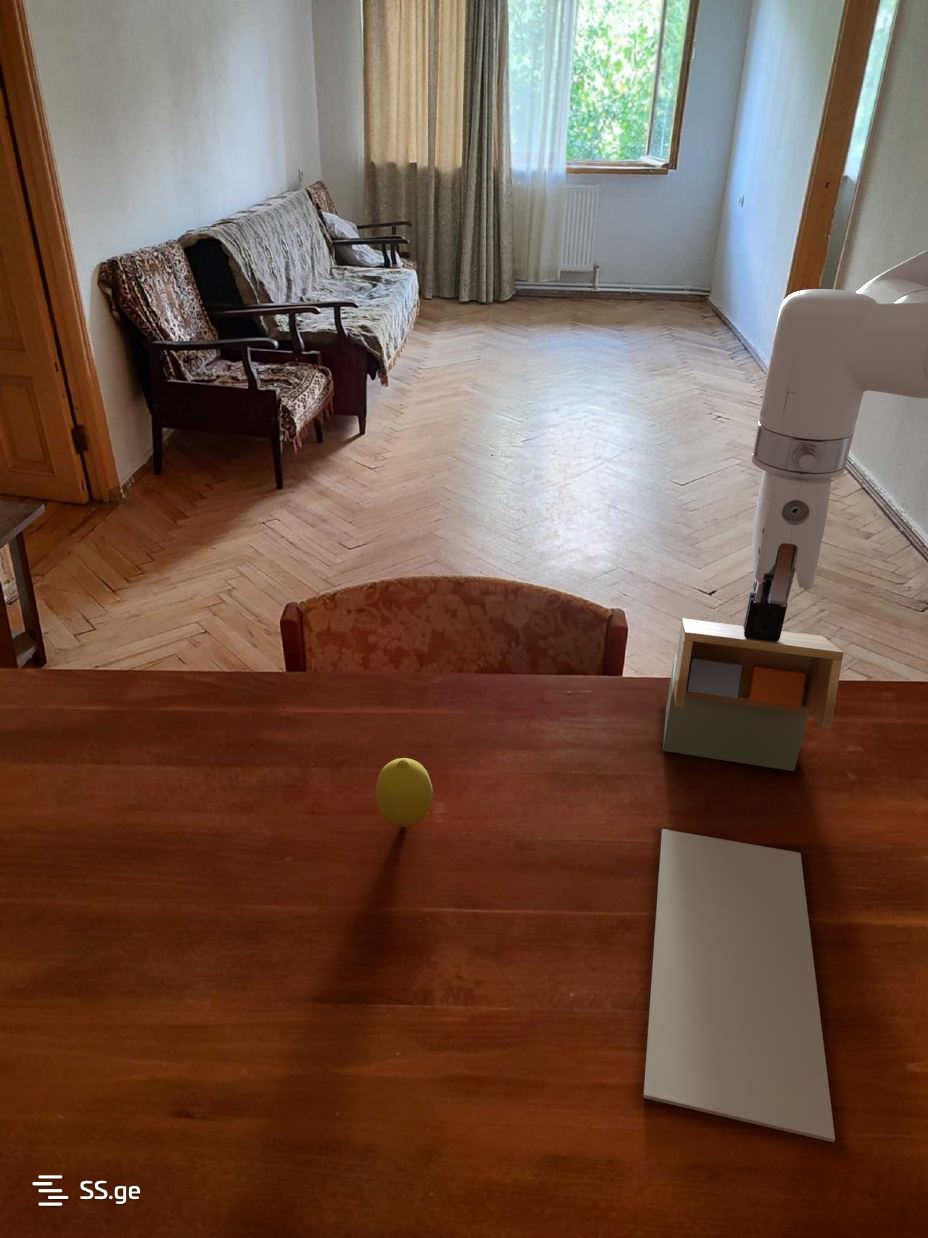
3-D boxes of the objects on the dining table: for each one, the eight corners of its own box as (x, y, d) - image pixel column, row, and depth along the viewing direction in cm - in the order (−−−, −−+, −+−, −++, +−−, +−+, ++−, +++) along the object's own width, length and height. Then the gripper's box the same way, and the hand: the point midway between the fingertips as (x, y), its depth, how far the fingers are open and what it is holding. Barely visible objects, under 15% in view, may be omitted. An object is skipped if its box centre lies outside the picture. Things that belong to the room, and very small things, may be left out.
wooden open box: (682, 617, 93) (685, 631, 82) (822, 635, 90) (843, 652, 80) (672, 691, 94) (673, 714, 84) (809, 711, 91) (829, 737, 81)
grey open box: (665, 710, 105) (674, 653, 101) (788, 728, 102) (802, 671, 98) (662, 751, 98) (671, 692, 94) (794, 771, 95) (809, 712, 91)
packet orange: (752, 663, 91) (754, 666, 89) (803, 670, 90) (806, 673, 88) (747, 696, 92) (749, 700, 90) (797, 703, 91) (800, 707, 89)
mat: (661, 831, 87) (662, 828, 87) (799, 855, 84) (800, 852, 84) (643, 1098, 63) (644, 1095, 63) (834, 1143, 61) (835, 1139, 61)
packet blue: (691, 655, 92) (692, 658, 91) (740, 661, 91) (742, 665, 90) (686, 687, 93) (687, 691, 91) (735, 694, 92) (737, 698, 90)
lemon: (426, 847, 85) (426, 783, 81) (370, 840, 86) (367, 776, 82) (437, 808, 90) (437, 746, 86) (384, 802, 90) (381, 740, 86)
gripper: (860, 483, 67) (809, 685, 76) (837, 425, 79) (796, 604, 89) (757, 473, 68) (719, 672, 77) (751, 418, 81) (719, 594, 90)
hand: (760, 635), depth 83 cm, fingers closed
